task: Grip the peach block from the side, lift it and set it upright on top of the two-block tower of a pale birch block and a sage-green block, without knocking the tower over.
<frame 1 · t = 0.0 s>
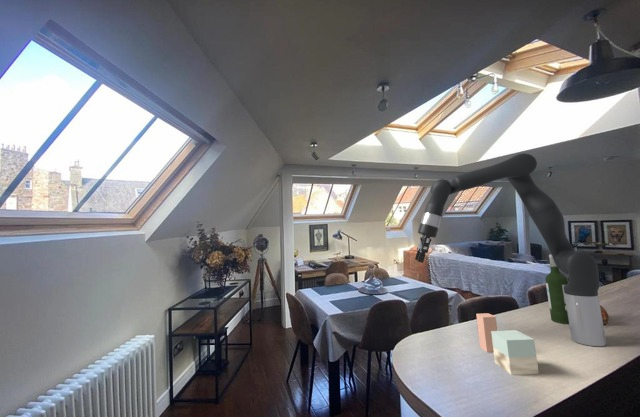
hand: (418, 261, 114), 31 cm above the counter, tool tilted 20°, fingers open, 8 cm apart
peach block: (489, 349, 97), on the counter
tower base block: (515, 368, 83), on the counter, touching tower top block
tower top block: (513, 351, 84), point 5 cm above the counter, touching tower base block
tin: (592, 321, 120), on the counter
wine bottle: (562, 321, 121), on the counter
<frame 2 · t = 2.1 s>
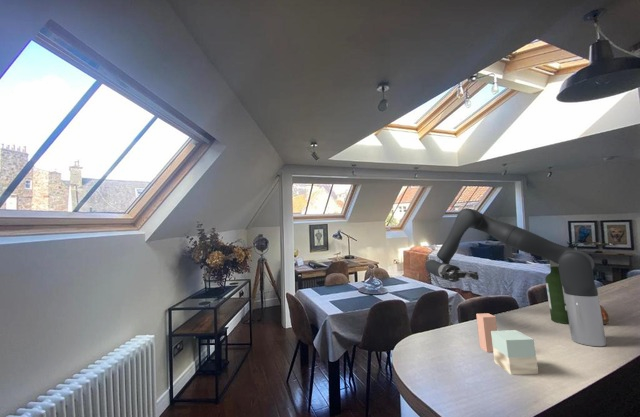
hand: (466, 277, 110), 24 cm above the counter, tool horizontal, fingers open, 8 cm apart
nothing on the counter moved.
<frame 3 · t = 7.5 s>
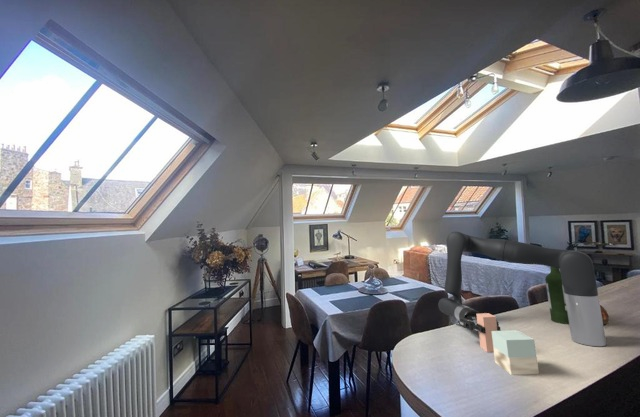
hand: (491, 330, 95), 8 cm above the counter, tool horizontal, fingers closed on peach block, 4 cm apart
peach block: (489, 349, 97), on the counter, touching gripper
everything else where it was.
when the fingers open (19 cm above the counter, at t = 12.8 s): peach block drops 2 cm, point 10 cm above the counter.
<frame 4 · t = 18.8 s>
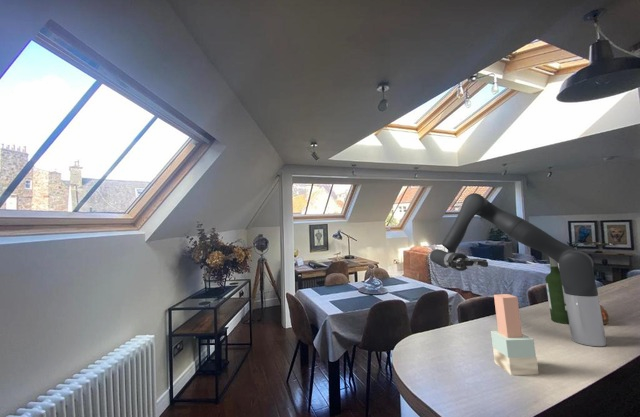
hand: (475, 264, 103), 30 cm above the counter, tool horizontal, fingers open, 8 cm apart
peach block: (510, 334, 84), point 10 cm above the counter
everything else where it was.
at the end: peach block 0.2 cm off-centre on the tower top block, point 5.0 cm above the tower top block's base; peach block tilted 0°; tower top block moved 0.3 cm from its start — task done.
